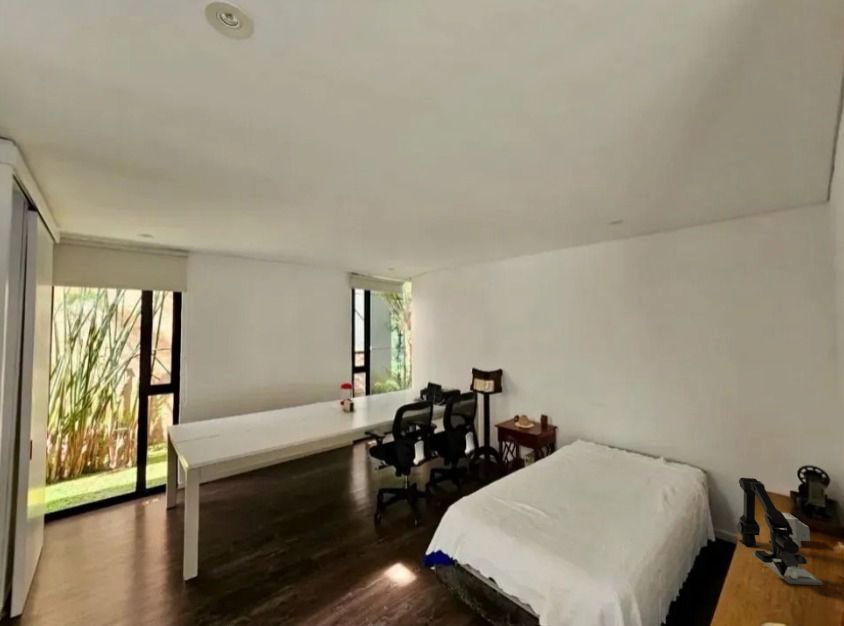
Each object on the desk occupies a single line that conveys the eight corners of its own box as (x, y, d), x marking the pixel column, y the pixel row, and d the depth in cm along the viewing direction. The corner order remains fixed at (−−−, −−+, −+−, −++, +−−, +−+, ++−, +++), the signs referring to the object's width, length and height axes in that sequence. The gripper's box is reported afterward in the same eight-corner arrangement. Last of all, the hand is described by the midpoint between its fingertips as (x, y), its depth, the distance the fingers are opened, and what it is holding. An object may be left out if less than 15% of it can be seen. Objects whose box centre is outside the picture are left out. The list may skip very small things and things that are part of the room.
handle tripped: (788, 575, 180) (787, 568, 181) (793, 575, 180) (792, 568, 180) (792, 578, 178) (792, 571, 178) (797, 578, 178) (796, 571, 178)
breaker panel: (752, 554, 200) (751, 551, 200) (781, 555, 198) (781, 552, 198) (789, 583, 177) (789, 580, 177) (822, 585, 175) (822, 582, 175)
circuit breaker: (814, 548, 203) (811, 519, 204) (784, 546, 206) (781, 518, 207) (803, 540, 210) (800, 513, 211) (774, 539, 213) (771, 512, 214)
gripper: (770, 550, 174) (773, 585, 173) (815, 552, 171) (819, 587, 170) (752, 537, 185) (756, 570, 184) (795, 538, 182) (798, 572, 181)
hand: (782, 575), depth 180 cm, fingers closed
